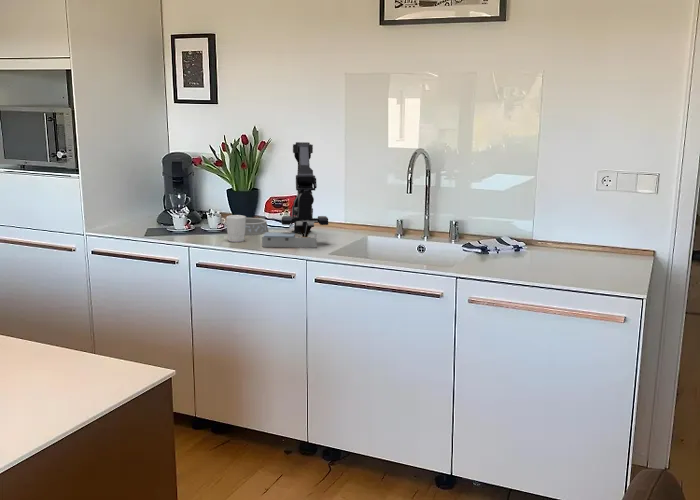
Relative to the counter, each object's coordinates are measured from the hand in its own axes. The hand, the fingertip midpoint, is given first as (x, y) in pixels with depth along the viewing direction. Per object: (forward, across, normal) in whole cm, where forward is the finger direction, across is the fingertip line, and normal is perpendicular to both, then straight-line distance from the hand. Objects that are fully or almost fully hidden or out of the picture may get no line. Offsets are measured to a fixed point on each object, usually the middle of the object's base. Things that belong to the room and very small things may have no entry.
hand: (304, 241), depth 295 cm
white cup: (+1, +28, -7) cm, 29 cm away
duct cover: (-3, +10, +4) cm, 11 cm away
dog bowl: (+2, +24, -28) cm, 36 cm away
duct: (+1, +6, +3) cm, 7 cm away
